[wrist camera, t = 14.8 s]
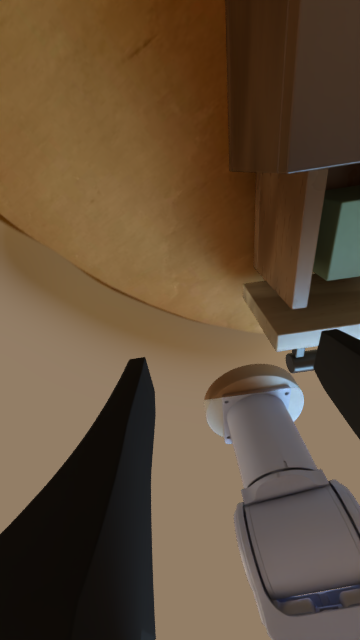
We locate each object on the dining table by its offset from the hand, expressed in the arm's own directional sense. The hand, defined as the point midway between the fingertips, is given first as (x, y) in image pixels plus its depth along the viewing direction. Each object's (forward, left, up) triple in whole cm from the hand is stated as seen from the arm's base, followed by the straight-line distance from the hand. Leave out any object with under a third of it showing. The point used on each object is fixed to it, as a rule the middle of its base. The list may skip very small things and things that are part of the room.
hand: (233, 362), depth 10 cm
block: (+3, -8, -8) cm, 12 cm away
